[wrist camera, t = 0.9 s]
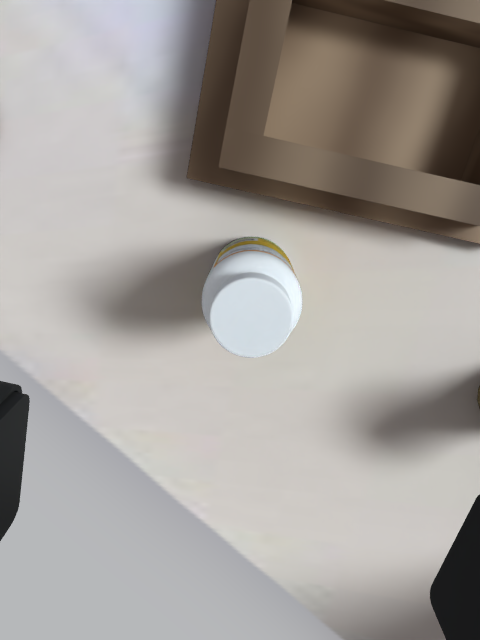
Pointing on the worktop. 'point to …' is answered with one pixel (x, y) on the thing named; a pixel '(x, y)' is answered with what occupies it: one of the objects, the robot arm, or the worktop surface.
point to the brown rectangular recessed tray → (347, 108)
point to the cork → (478, 396)
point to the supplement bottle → (251, 297)
